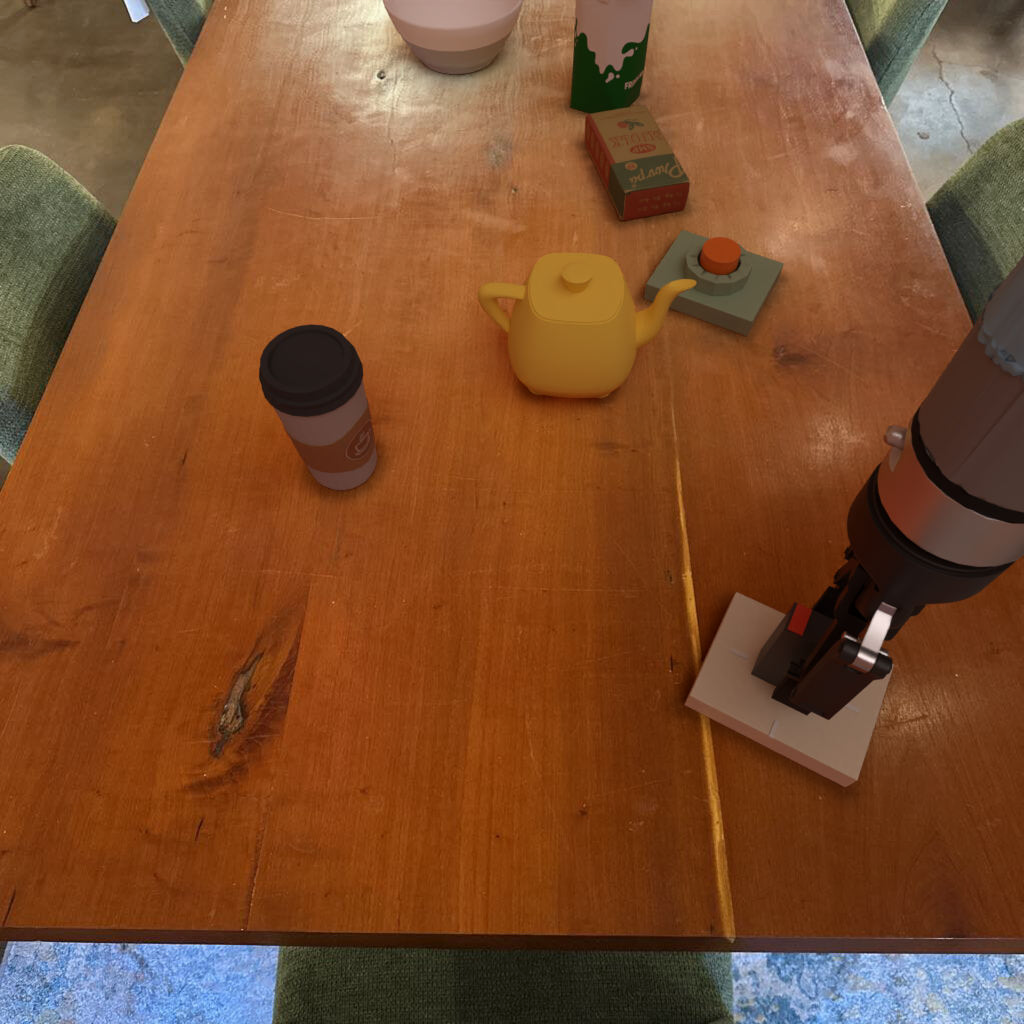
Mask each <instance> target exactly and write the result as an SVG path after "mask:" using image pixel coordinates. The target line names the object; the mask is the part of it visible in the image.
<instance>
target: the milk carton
mask: <svg viewBox="0 0 1024 1024" xmlns="http://www.w3.org/2000/svg"><path fill="white" fill-rule="evenodd" d="M653 4H654V0H575V9H574V10H575V11H574V30H573V31H574V32H573V35H574V36H573V51H572V52H573V55H572V56H573V57H572V72H571V73H572V74H571V89H570V105H569V108H572V109H575V110H578V111H580V112H581V111H582V112H584V113H587V114H592V113H598V112H604V111H609V110H615V109H621V108H628V107H632V105H633V104H634V103H635V101H637V99H638V98H639V97H640V94H641V89H642V85H643V78H644V73H645V68H646V60H647V51H648V44H649V34H650V29H651V28H650V27H651V20H652V12H653Z"/></svg>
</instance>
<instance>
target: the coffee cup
mask: <svg viewBox="0 0 1024 1024" xmlns="http://www.w3.org/2000/svg"><path fill="white" fill-rule="evenodd" d="M259 358H260V359H259V368H258V380H259V384H260V385H261V390H262V394H263V396H264V398H265V400H266V402H268V404H269V405H270V406H271V407H272V408H273V409H274V412H275V413H276V415H277V417H278V418H279V420H280V422H281V423H282V425H283V428H284V431H285V433H286V434H287V436H288V437H289V439H290V441H291V442H292V444H293V446H294V448H295V450H296V451H297V454H298V455H299V457H300V459H302V461H303V462H304V464H305V466H306V468H307V469H308V470H309V473H310V474H311V476H312V477H313V478H314V480H315V481H316V483H318V484H320V485H321V486H322V487H326V488H328V489H330V490H334V491H349V490H352V489H355V488H358V487H359V486H361V485H363V484H364V483H366V482H367V481H368V480H369V479H370V478H371V476H372V475H373V472H374V470H375V469H376V466H377V462H378V455H377V449H376V443H375V433H374V427H373V422H372V415H371V410H370V405H369V400H368V397H367V394H366V389H365V388H366V387H365V383H364V365H363V363H362V360H361V358H360V356H359V353H358V352H357V349H356V347H355V346H354V345H353V344H352V343H351V342H350V340H348V338H346V337H345V336H344V334H343V333H342V332H340V331H339V330H336V329H335V328H334V327H330V326H327V325H323V324H304V325H303V324H302V325H298V326H297V325H296V326H295V327H291V328H288V329H285V330H284V331H282V332H280V333H279V334H277V335H276V336H275V337H273V338H272V339H271V340H270V341H269V342H268V343H267V344H266V346H265V347H264V348H263V350H262V353H261V356H260V357H259Z"/></svg>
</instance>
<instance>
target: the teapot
mask: <svg viewBox="0 0 1024 1024" xmlns="http://www.w3.org/2000/svg"><path fill="white" fill-rule="evenodd" d="M621 269H622V268H620V266H619V264H618V263H617V261H616V260H614V259H613V258H611V257H609V256H606V255H603V254H597V253H588V252H554V253H553V252H552V253H548V254H545V255H543V256H541V257H540V258H539V259H538V260H537V261H536V262H535V264H534V265H533V266H532V268H531V270H530V271H529V273H528V275H527V277H526V278H525V280H524V282H523V284H517V283H511V282H504V281H502V282H501V281H491V282H486V283H483V284H482V285H481V286H480V287H479V288H478V290H477V294H476V295H477V300H478V303H479V305H480V306H481V309H482V310H483V311H484V313H485V314H486V315H487V316H488V317H489V318H490V319H491V320H492V321H493V322H494V323H495V324H496V326H498V327H499V328H500V329H501V330H502V331H504V333H505V334H507V351H508V358H509V361H510V364H511V368H512V370H513V371H514V374H515V376H516V377H517V379H518V380H519V382H520V383H521V384H523V385H524V386H525V387H526V388H528V391H529V392H531V393H532V394H534V395H538V396H543V395H544V396H547V397H548V396H549V397H555V398H568V399H591V398H596V399H603V398H606V397H608V396H609V395H610V394H611V393H613V391H615V390H617V389H618V388H620V387H621V386H622V385H623V384H624V383H625V381H626V380H627V378H628V377H629V375H630V373H631V371H632V368H633V367H634V364H635V360H636V358H637V353H638V349H641V348H644V347H645V346H647V345H649V344H650V343H651V342H653V341H654V340H655V338H657V336H658V335H659V334H660V332H661V331H662V329H663V326H664V324H665V321H666V318H667V315H668V312H669V309H670V308H669V307H670V305H671V303H672V301H673V300H674V299H675V298H676V297H677V296H678V295H679V294H680V293H682V292H684V291H686V290H688V289H690V288H692V287H694V286H695V285H696V283H697V282H696V281H695V280H692V279H681V280H675V281H672V282H669V283H668V284H666V285H665V286H663V287H662V288H661V289H660V290H659V292H658V293H657V295H656V297H655V300H654V302H652V303H651V305H650V306H648V307H647V308H645V309H642V310H640V311H636V305H635V302H634V299H633V296H632V293H631V290H630V287H629V285H628V283H627V280H626V278H625V275H624V273H623V272H622V270H621ZM498 299H510V300H515V301H514V304H513V307H512V310H511V314H510V318H509V316H508V315H507V314H506V313H505V311H504V310H503V308H502V307H501V305H500V304H499V302H498Z"/></svg>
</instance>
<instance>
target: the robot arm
mask: <svg viewBox="0 0 1024 1024" xmlns="http://www.w3.org/2000/svg"><path fill="white" fill-rule="evenodd" d="M882 438H883V439H882V440H883V442H884V443H885V444H886V445H887V446H890V448H889V450H888V451H887V453H886V454H885V456H884V457H883V459H882V461H881V462H879V463H878V464H877V466H876V467H875V469H874V470H873V471H872V472H871V474H870V476H869V477H868V478H867V480H866V481H865V483H864V484H863V486H862V487H861V489H859V491H858V493H857V494H856V496H855V497H854V499H853V500H852V502H851V504H850V507H849V509H848V513H847V516H846V533H847V539H848V541H849V546H846V548H845V549H844V552H843V554H844V556H843V560H845V561H846V563H844V564H843V565H842V566H841V567H840V568H839V569H837V571H835V573H834V575H833V576H832V577H833V581H832V584H833V585H835V586H834V587H833V586H831V585H828V586H827V587H826V589H825V591H823V593H822V594H821V595H820V597H818V599H817V600H816V602H815V603H814V605H813V606H812V607H810V609H812V610H814V611H816V612H818V613H821V614H823V615H825V616H827V617H829V618H832V619H834V620H833V622H832V623H831V625H830V626H829V628H828V629H827V631H826V632H825V634H824V635H823V636H822V638H821V639H820V641H819V642H818V644H817V645H816V647H815V648H814V650H813V651H812V653H811V654H810V655H809V657H808V658H807V660H805V659H803V658H801V659H800V660H799V661H798V662H797V663H796V662H794V661H792V660H791V662H790V664H789V665H788V668H787V670H786V673H785V675H786V676H785V677H784V679H783V680H782V681H781V682H780V683H779V684H778V686H777V687H776V688H775V689H774V691H773V694H772V697H771V698H772V699H774V700H776V701H778V702H780V703H782V704H784V705H786V706H788V707H790V708H792V709H794V710H796V711H798V712H800V713H802V714H805V715H808V714H810V713H811V712H813V713H815V714H817V715H819V716H821V717H823V718H825V719H827V720H830V719H831V718H832V717H833V716H834V715H835V714H837V713H838V712H839V711H840V710H841V709H842V708H843V707H844V706H846V705H847V704H848V703H849V702H850V701H851V700H852V699H853V698H854V697H856V696H857V695H858V694H859V693H860V692H861V691H862V690H863V689H865V688H866V687H867V686H868V685H869V684H870V683H871V682H872V681H874V680H880V679H883V678H885V676H886V675H887V674H889V673H890V672H891V669H892V664H894V662H893V657H890V650H889V649H886V648H884V647H882V646H883V644H884V642H888V641H892V640H893V639H894V638H895V636H896V635H897V634H898V633H899V632H900V630H901V629H902V628H903V627H904V625H905V624H906V623H907V622H908V621H909V619H910V618H912V617H915V616H918V615H920V613H921V612H922V611H923V609H924V608H925V607H926V606H928V605H941V604H953V603H957V602H961V601H965V600H968V599H969V598H973V597H974V596H976V595H978V594H979V593H980V592H982V591H983V590H984V589H985V588H986V587H987V586H989V585H990V584H992V582H994V581H995V580H996V579H997V578H999V576H1001V575H1002V574H1003V573H1004V572H1006V571H1007V570H1008V569H1009V568H1010V567H1011V566H1012V565H1014V564H1015V563H1016V562H1017V561H1018V560H1019V559H1021V558H1022V557H1023V556H1024V255H1022V257H1021V258H1020V259H1019V261H1018V262H1017V263H1016V264H1015V266H1014V267H1013V269H1012V270H1010V272H1009V274H1008V275H1007V276H1006V277H1005V279H1004V280H1002V281H1001V282H1000V283H999V284H997V286H996V287H995V288H994V289H993V290H992V291H991V292H990V294H989V295H988V297H987V298H986V301H985V303H984V308H983V309H982V312H981V313H980V315H979V316H978V318H977V319H976V321H975V323H974V324H973V326H972V327H971V329H970V331H969V332H968V333H967V335H966V336H965V338H964V339H963V341H962V343H961V345H960V346H959V347H958V348H957V350H956V352H955V353H954V355H953V356H952V358H951V360H949V362H948V364H947V366H946V367H945V369H944V370H943V372H941V374H940V376H939V378H938V379H937V381H936V382H935V384H934V385H933V386H932V388H931V389H930V391H929V392H928V394H927V396H926V397H925V398H924V400H923V401H922V402H921V404H920V405H919V406H918V407H917V409H916V411H915V412H914V413H913V415H912V417H911V419H910V420H909V422H908V425H907V427H903V426H899V425H898V424H897V425H896V424H892V425H889V426H888V427H887V429H886V431H885V433H884V434H883V435H882Z"/></svg>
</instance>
